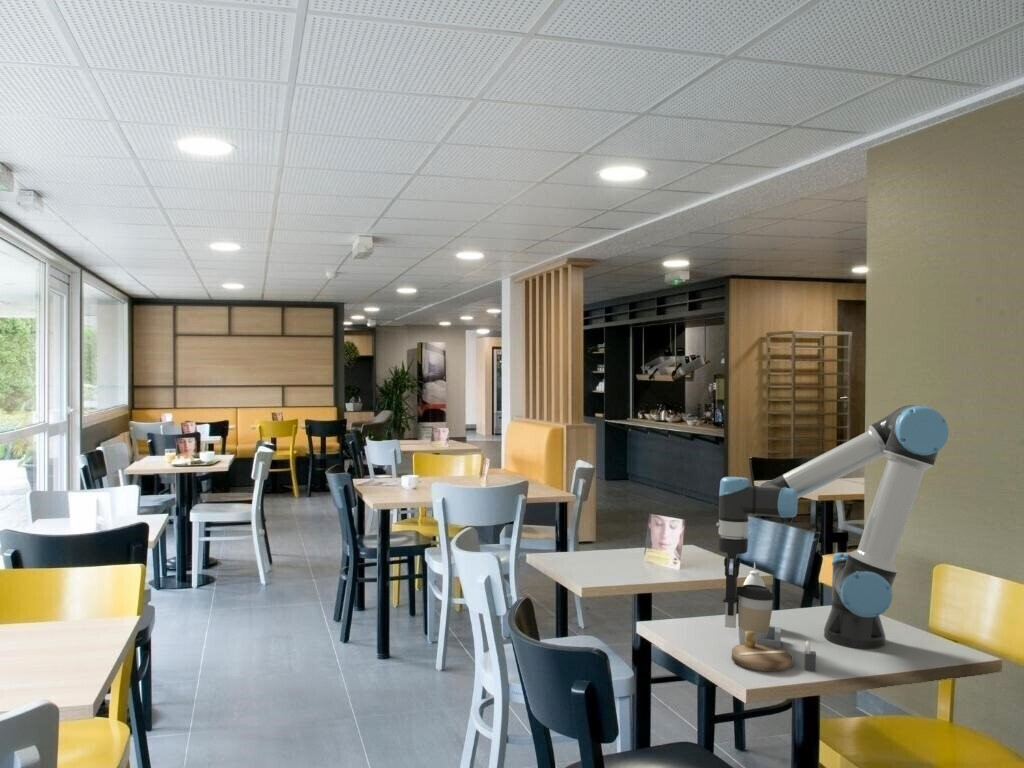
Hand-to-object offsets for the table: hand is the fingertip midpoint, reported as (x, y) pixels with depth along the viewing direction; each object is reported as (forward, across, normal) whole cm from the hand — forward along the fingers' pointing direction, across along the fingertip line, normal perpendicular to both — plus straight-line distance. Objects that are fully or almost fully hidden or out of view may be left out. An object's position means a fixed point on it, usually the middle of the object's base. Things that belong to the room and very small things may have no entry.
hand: (730, 626), depth 219 cm
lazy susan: (+4, +15, +8) cm, 18 cm away
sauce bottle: (+4, -18, +5) cm, 19 cm away
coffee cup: (+4, 0, +6) cm, 7 cm away
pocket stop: (+4, 0, +10) cm, 11 cm away
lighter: (+4, +15, +19) cm, 25 cm away
